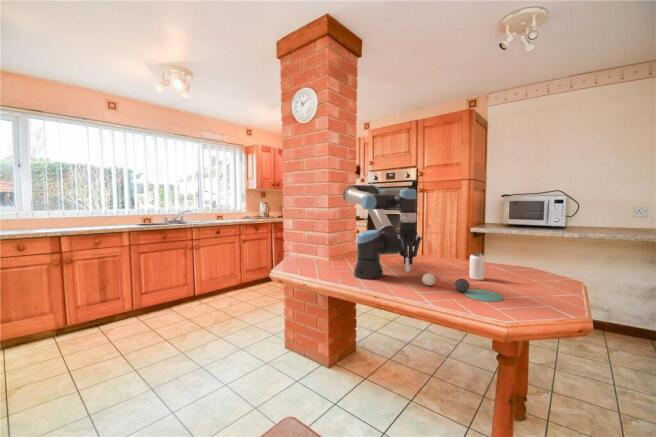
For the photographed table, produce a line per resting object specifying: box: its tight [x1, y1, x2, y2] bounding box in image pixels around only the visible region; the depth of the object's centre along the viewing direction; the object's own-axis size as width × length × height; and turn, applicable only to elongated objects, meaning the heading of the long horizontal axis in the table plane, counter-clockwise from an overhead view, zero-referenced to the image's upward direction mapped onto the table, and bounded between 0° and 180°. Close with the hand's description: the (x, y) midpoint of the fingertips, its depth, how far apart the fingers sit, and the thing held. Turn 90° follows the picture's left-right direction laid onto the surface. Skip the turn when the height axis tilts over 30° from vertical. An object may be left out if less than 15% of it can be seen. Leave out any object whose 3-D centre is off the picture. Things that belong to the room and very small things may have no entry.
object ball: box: [454, 278, 470, 293], centre depth 115 cm, size 6×6×6 cm
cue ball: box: [421, 273, 436, 286], centre depth 124 cm, size 6×6×6 cm
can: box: [469, 253, 486, 281], centre depth 134 cm, size 6×6×12 cm
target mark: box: [463, 288, 504, 303], centre depth 111 cm, size 14×14×1 cm
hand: (408, 270), depth 130 cm, fingers closed
